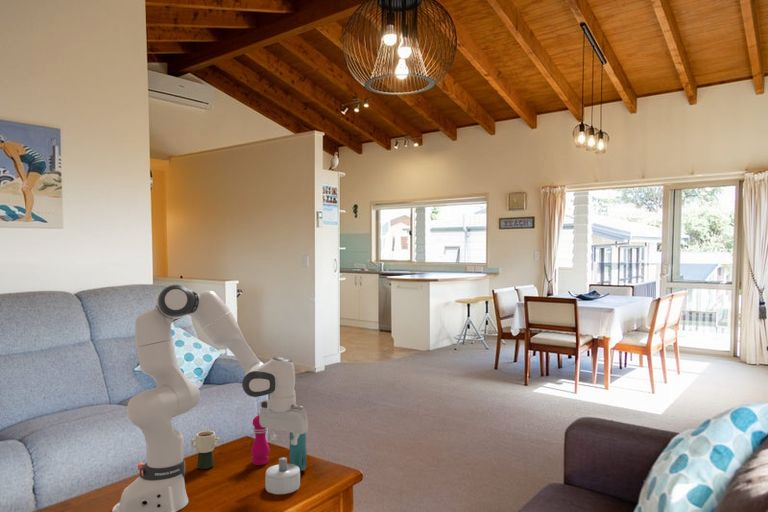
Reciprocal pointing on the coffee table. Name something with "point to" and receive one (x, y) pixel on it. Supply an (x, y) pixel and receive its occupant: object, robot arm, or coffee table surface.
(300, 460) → the beverage bottle
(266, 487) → the cap
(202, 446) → the character mug
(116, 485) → the coffee table surface
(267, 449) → the pepper mill
